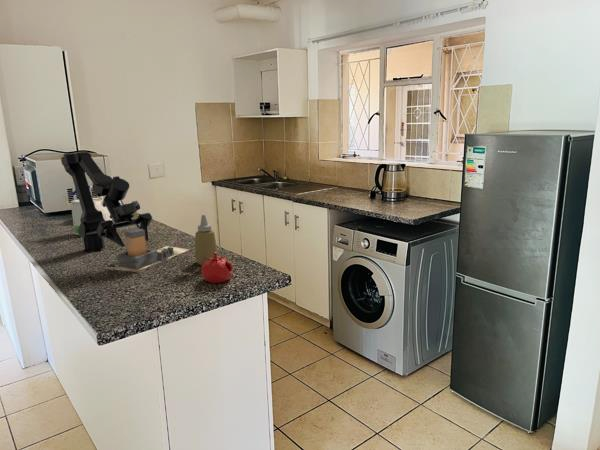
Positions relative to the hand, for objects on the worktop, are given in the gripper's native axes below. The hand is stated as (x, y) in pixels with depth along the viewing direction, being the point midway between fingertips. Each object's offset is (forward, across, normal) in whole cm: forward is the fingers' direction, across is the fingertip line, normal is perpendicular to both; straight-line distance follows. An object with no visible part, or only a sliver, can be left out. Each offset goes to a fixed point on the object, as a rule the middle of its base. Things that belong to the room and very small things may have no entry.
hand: (135, 243), depth 157 cm
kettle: (-56, +25, +69) cm, 92 cm away
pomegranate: (+30, +9, -18) cm, 36 cm away
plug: (+5, 0, +5) cm, 7 cm away
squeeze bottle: (+19, +16, -7) cm, 26 cm away
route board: (+5, +8, +7) cm, 11 cm away
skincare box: (-38, +9, +50) cm, 64 cm away
